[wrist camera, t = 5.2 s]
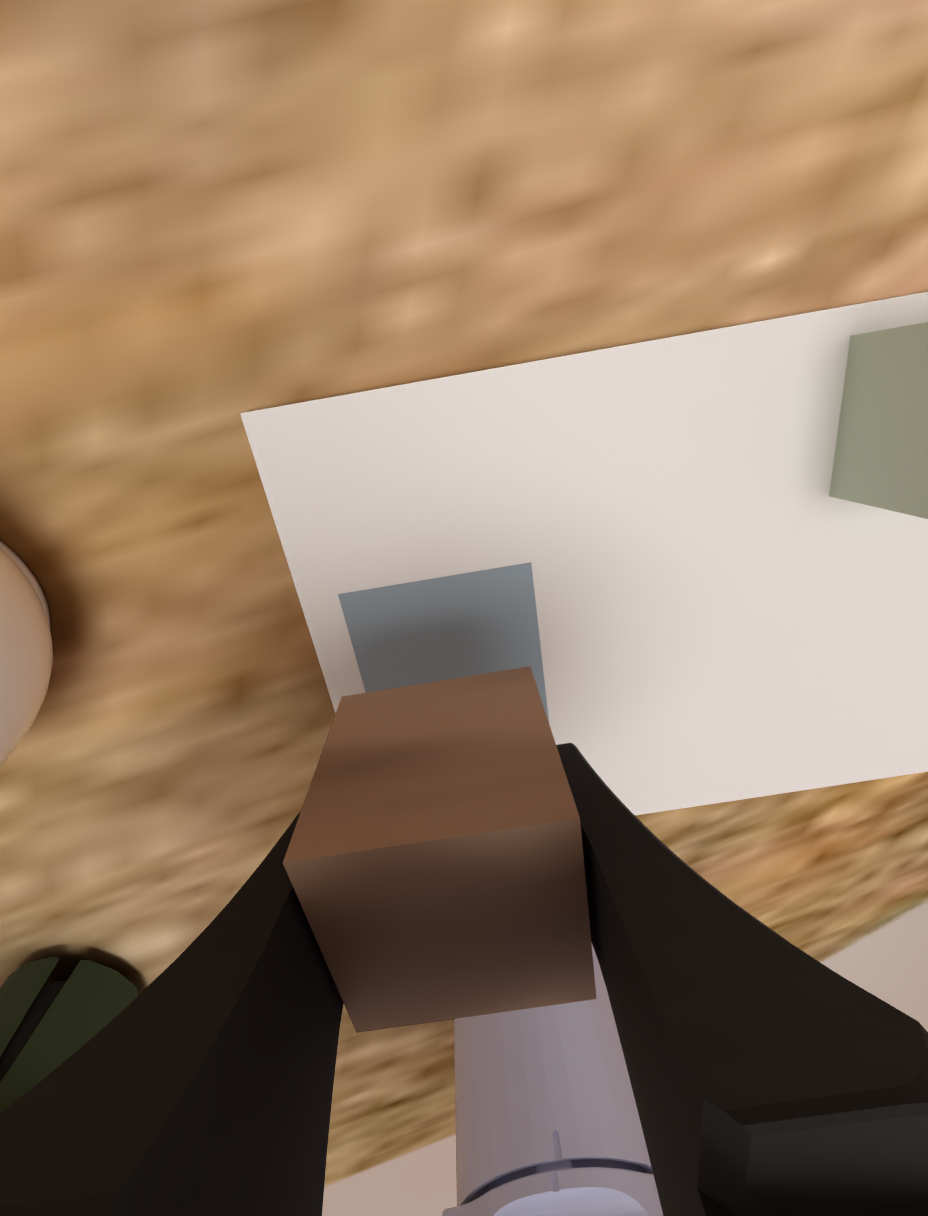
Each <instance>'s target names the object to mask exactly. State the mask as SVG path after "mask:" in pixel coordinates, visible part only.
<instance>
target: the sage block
mask: <svg viewBox="0 0 928 1216" xmlns="http://www.w3.org/2000/svg"><path fill="white" fill-rule="evenodd" d="M829 496H830V497H834V498H839V499H843V500H847V501H851V502H856V503H860V504H864V505H869V506H873V507H877V508H882V509H886V510H890V511H894V512H899V513H903V514H907V515H912V516H916V517H920V518H925V519H928V322H925V323H919V324H913V325H908V326H902V327H896V328H891V329H885V330H879V331H873V332H868V333H862V334H856V335H851V336H850V343H849V350H848V358H847V365H846V373H845V380H844V388H843V395H842V403H841V410H840V418H839V426H838V433H837V441H836V448H835V456H834V463H833V471H832V478H831V486H830V493H829Z"/></svg>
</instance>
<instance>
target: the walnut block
mask: <svg viewBox="0 0 928 1216" xmlns="http://www.w3.org/2000/svg"><path fill="white" fill-rule="evenodd" d="M283 865H284V867H285V869H286V872H287V874H288V876H289V879H290V881H291V883H292V885H293V888H294V890H295V892H296V895H297V897H298V899H299V901H300V904H301V906H302V908H303V911H304V913H305V915H306V917H307V920H308V922H309V924H310V927H311V929H312V931H313V934H314V936H315V938H316V940H317V943H318V945H319V947H320V950H321V952H322V954H323V956H324V959H325V961H326V963H327V966H328V968H329V970H330V972H331V975H332V977H333V979H334V982H335V984H336V986H337V989H338V991H339V993H340V995H341V998H342V1000H343V1002H344V1005H345V1007H346V1009H347V1011H348V1014H349V1016H350V1018H351V1021H352V1023H353V1025H354V1028H355V1030H356V1032H364V1031H371V1030H378V1029H386V1028H393V1027H400V1026H407V1025H414V1024H421V1023H429V1022H436V1021H443V1020H450V1019H457V1018H464V1017H472V1016H479V1015H486V1014H493V1013H500V1012H507V1011H515V1010H522V1009H529V1008H536V1007H543V1006H550V1005H558V1004H565V1003H572V1002H579V1001H586V1000H593V999H597V998H596V987H595V976H594V965H593V954H592V944H591V933H590V922H589V911H588V900H587V889H586V878H585V867H584V856H583V845H582V835H581V824H580V817H579V814H578V811H577V807H576V804H575V801H574V798H573V795H572V792H571V789H570V786H569V783H568V780H567V777H566V774H565V771H564V768H563V765H562V762H561V759H560V756H559V752H558V749H557V746H556V743H555V740H554V737H553V734H552V731H551V728H550V725H549V722H548V719H547V716H546V713H545V710H544V707H543V704H542V701H541V697H540V694H539V691H538V688H537V685H536V682H535V679H534V676H533V673H532V670H531V667H530V666H529V667H523V668H516V669H510V670H504V671H498V672H492V673H485V674H479V675H473V676H467V677H460V678H454V679H448V680H442V681H435V682H429V683H423V684H417V685H411V686H404V687H398V688H392V689H386V690H379V691H373V692H367V693H361V694H354V695H348V696H342V697H341V700H340V703H339V706H338V709H337V711H336V714H335V717H334V720H333V723H332V725H331V728H330V731H329V734H328V737H327V740H326V742H325V745H324V748H323V751H322V754H321V756H320V759H319V762H318V765H317V768H316V771H315V773H314V776H313V779H312V782H311V785H310V787H309V790H308V793H307V796H306V799H305V802H304V804H303V807H302V810H301V813H300V816H299V818H298V821H297V824H296V827H295V830H294V833H293V835H292V838H291V841H290V844H289V847H288V849H287V852H286V855H285V858H284V861H283Z"/></svg>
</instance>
